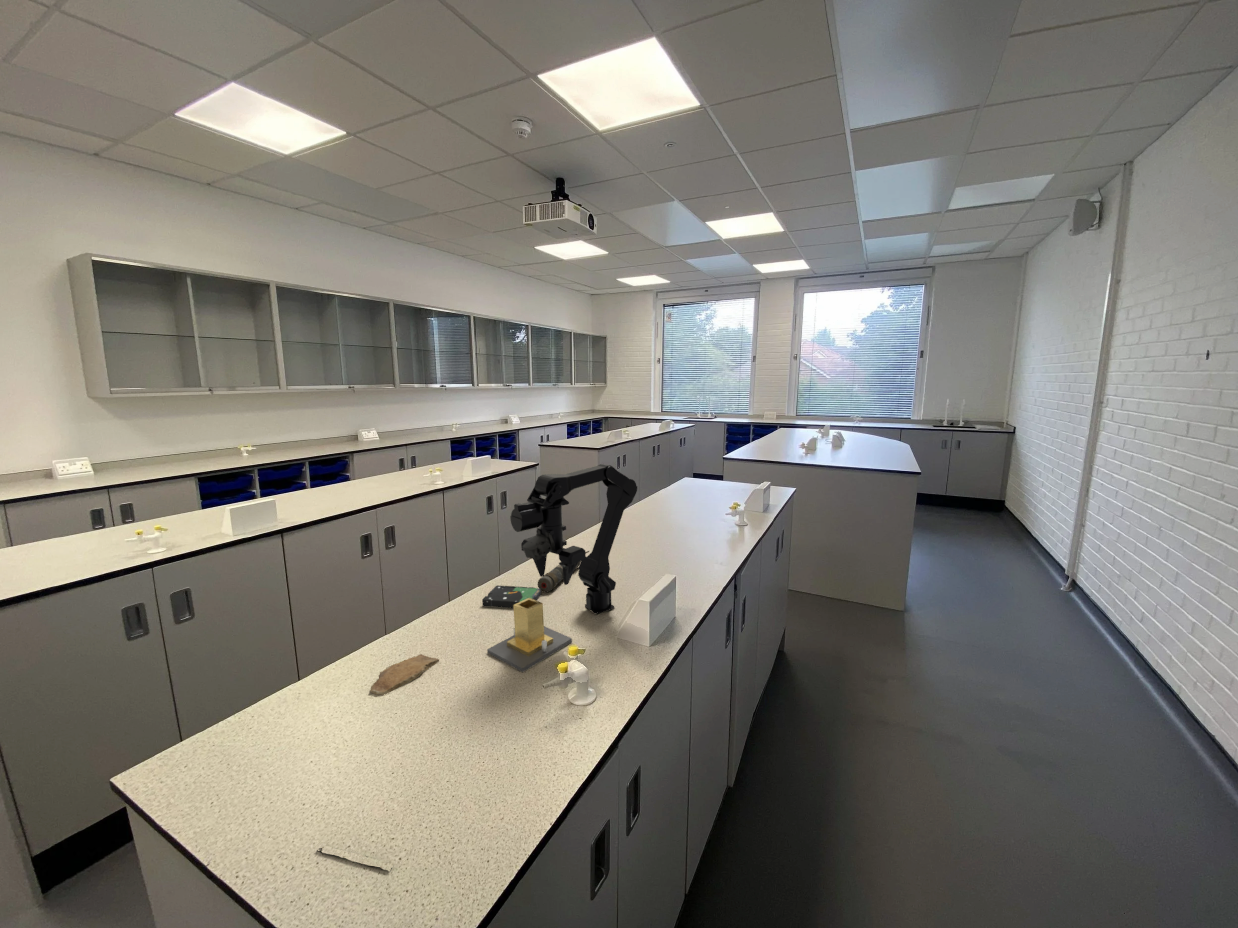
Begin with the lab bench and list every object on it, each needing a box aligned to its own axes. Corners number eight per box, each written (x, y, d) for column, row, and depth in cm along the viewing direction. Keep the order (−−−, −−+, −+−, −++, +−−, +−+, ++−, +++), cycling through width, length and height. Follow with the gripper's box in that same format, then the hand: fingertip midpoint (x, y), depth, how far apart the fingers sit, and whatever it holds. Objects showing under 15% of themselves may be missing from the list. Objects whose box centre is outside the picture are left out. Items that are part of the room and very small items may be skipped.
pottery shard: (444, 665, 112) (444, 659, 112) (377, 701, 100) (376, 693, 100) (427, 654, 117) (426, 648, 116) (360, 687, 105) (359, 679, 104)
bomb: (594, 556, 180) (593, 544, 179) (551, 594, 149) (550, 578, 148) (582, 555, 181) (581, 542, 180) (537, 591, 150) (536, 576, 149)
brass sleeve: (531, 631, 124) (529, 593, 122) (553, 641, 119) (551, 602, 117) (507, 645, 118) (504, 605, 116) (528, 656, 113) (526, 615, 111)
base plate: (537, 626, 128) (536, 609, 128) (571, 641, 120) (571, 623, 120) (487, 652, 116) (486, 633, 115) (522, 672, 108) (521, 651, 107)
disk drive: (482, 608, 141) (530, 610, 138) (481, 599, 140) (529, 601, 138) (496, 593, 151) (541, 595, 148) (496, 584, 150) (541, 586, 148)
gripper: (503, 524, 123) (507, 581, 126) (554, 538, 112) (556, 600, 115) (536, 515, 132) (538, 568, 135) (586, 526, 120) (587, 584, 123)
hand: (553, 580), depth 126 cm, fingers open, 9 cm apart
